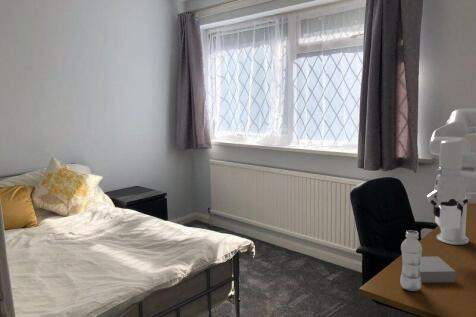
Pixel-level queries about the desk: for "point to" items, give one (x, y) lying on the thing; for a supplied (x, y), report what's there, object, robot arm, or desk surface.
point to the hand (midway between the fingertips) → (447, 215)
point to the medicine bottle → (449, 215)
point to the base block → (435, 270)
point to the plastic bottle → (411, 262)
